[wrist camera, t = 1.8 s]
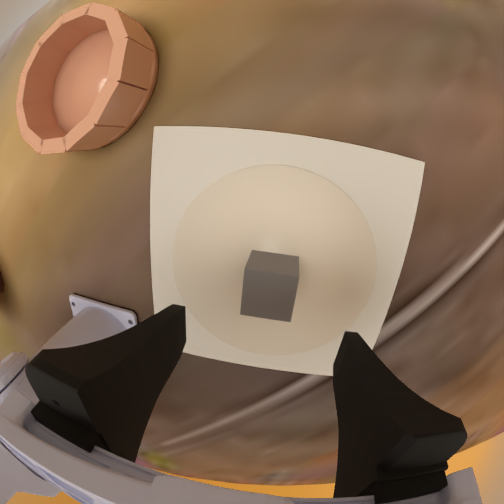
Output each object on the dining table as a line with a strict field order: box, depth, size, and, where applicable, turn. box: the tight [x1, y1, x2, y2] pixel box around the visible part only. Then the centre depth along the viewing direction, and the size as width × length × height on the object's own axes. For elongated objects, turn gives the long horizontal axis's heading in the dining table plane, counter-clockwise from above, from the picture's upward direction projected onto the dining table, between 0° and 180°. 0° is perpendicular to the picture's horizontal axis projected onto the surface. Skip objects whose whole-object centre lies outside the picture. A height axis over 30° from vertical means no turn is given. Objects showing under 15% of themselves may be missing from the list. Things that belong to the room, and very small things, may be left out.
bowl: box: [16, 2, 158, 154], centre depth 14 cm, size 11×11×4 cm
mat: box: [150, 126, 425, 376], centre depth 19 cm, size 18×18×1 cm
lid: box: [172, 165, 377, 355], centre depth 17 cm, size 14×14×4 cm
